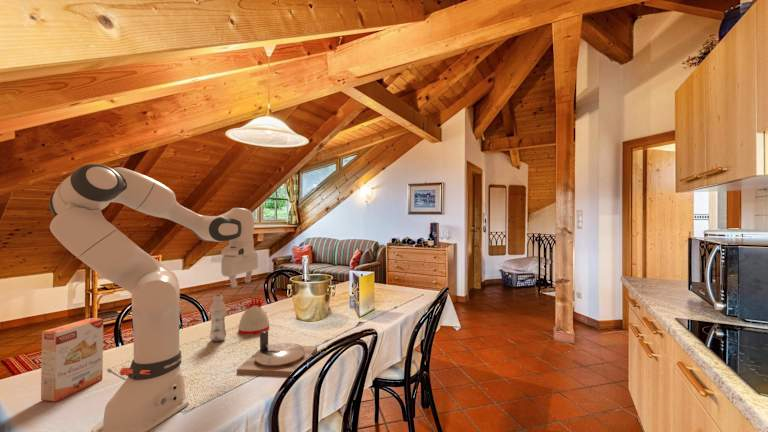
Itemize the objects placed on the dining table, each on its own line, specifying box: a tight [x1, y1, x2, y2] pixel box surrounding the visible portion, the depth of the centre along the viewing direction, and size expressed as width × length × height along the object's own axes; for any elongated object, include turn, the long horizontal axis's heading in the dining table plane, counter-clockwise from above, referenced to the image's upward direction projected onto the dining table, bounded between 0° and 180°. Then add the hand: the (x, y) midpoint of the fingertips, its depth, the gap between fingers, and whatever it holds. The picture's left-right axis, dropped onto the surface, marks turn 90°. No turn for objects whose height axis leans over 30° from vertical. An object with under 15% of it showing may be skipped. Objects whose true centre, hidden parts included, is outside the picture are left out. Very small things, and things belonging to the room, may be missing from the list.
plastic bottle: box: [209, 294, 227, 343], centre depth 145 cm, size 6×7×20 cm
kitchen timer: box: [238, 297, 270, 335], centre depth 159 cm, size 14×14×15 cm
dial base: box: [236, 344, 318, 377], centre depth 124 cm, size 22×22×2 cm
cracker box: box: [40, 317, 104, 403], centre depth 104 cm, size 14×6×21 cm, turn 170°
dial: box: [254, 330, 305, 367], centre depth 124 cm, size 18×18×8 cm
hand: (241, 284), depth 129 cm, fingers open, 8 cm apart
